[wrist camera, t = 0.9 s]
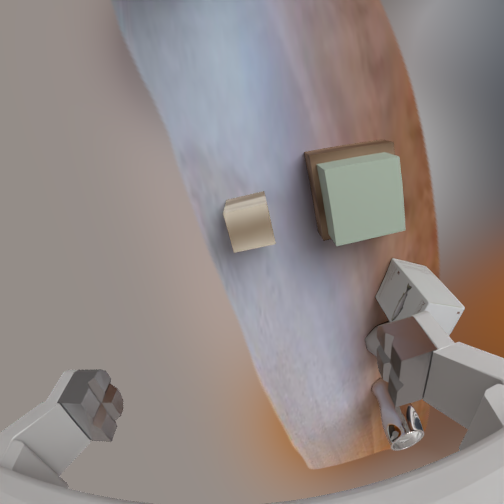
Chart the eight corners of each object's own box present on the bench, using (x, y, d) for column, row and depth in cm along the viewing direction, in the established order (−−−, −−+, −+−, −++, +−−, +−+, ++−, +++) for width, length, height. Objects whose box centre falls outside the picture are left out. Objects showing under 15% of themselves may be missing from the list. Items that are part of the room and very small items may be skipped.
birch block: (226, 199, 41) (223, 213, 35) (264, 191, 40) (266, 203, 35) (235, 234, 43) (234, 253, 37) (272, 226, 42) (275, 243, 37)
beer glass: (384, 398, 58) (405, 452, 45) (362, 391, 57) (382, 449, 43) (406, 377, 56) (432, 431, 42) (385, 369, 54) (410, 428, 41)
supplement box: (391, 256, 44) (429, 300, 33) (426, 265, 45) (467, 307, 34) (373, 297, 47) (403, 348, 36) (408, 303, 48) (441, 351, 36)
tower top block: (316, 164, 35) (324, 169, 32) (385, 152, 35) (399, 156, 31) (328, 233, 39) (336, 246, 35) (392, 219, 38) (405, 230, 35)
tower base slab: (303, 151, 39) (309, 155, 35) (380, 139, 38) (393, 142, 34) (317, 229, 43) (323, 240, 39) (389, 214, 42) (400, 224, 39)
